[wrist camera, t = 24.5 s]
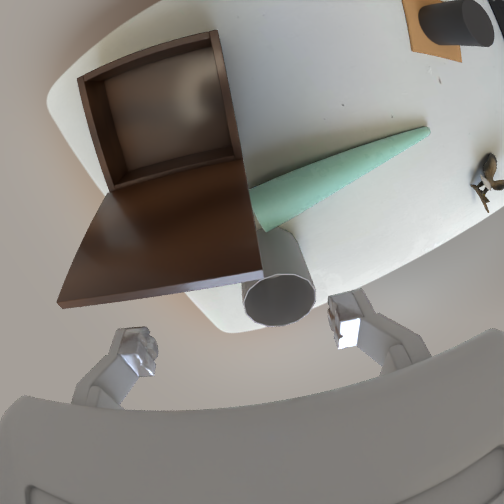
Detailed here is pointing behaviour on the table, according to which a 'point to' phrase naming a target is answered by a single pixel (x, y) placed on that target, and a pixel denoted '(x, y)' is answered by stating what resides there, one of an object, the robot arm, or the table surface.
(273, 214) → the mint green cone
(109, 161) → the chest
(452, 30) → the dark grey cylinder
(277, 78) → the table surface
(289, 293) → the cup
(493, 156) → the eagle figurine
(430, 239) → the table surface
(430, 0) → the cork mat
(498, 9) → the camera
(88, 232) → the chest lid
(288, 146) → the table surface
